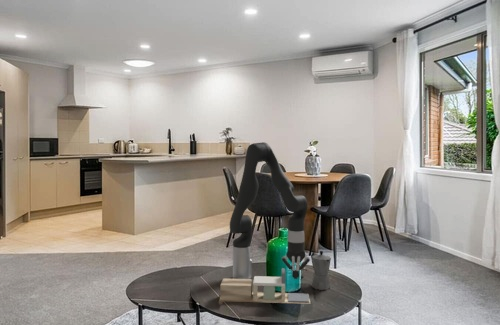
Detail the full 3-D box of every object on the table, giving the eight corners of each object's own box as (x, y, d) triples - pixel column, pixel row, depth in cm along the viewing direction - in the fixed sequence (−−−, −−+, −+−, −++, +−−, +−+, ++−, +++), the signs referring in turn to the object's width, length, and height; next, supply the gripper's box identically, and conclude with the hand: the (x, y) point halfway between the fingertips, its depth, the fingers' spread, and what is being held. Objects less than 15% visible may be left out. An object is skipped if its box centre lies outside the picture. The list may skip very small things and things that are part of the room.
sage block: (263, 295, 181) (263, 282, 181) (274, 295, 181) (274, 282, 181) (263, 299, 176) (263, 285, 176) (274, 299, 176) (274, 286, 176)
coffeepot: (336, 290, 192) (337, 253, 192) (320, 292, 189) (320, 255, 188) (319, 280, 207) (319, 246, 206) (303, 282, 203) (303, 247, 202)
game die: (301, 282, 214) (312, 267, 215) (298, 281, 206) (309, 265, 207) (288, 271, 218) (299, 257, 219) (284, 270, 210) (295, 255, 211)
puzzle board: (222, 294, 186) (222, 277, 186) (308, 296, 183) (308, 279, 183) (218, 304, 174) (218, 286, 174) (310, 307, 171) (310, 289, 171)
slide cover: (254, 278, 183) (254, 267, 183) (284, 279, 182) (284, 268, 182) (253, 285, 174) (253, 273, 174) (285, 286, 173) (285, 274, 173)
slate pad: (287, 294, 183) (287, 293, 182) (307, 294, 182) (307, 293, 182) (288, 301, 174) (288, 300, 174) (309, 302, 173) (309, 301, 173)
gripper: (310, 238, 180) (309, 276, 181) (281, 237, 181) (280, 275, 182) (311, 242, 173) (311, 281, 173) (281, 241, 174) (280, 280, 174)
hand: (295, 278), depth 178 cm, fingers closed
